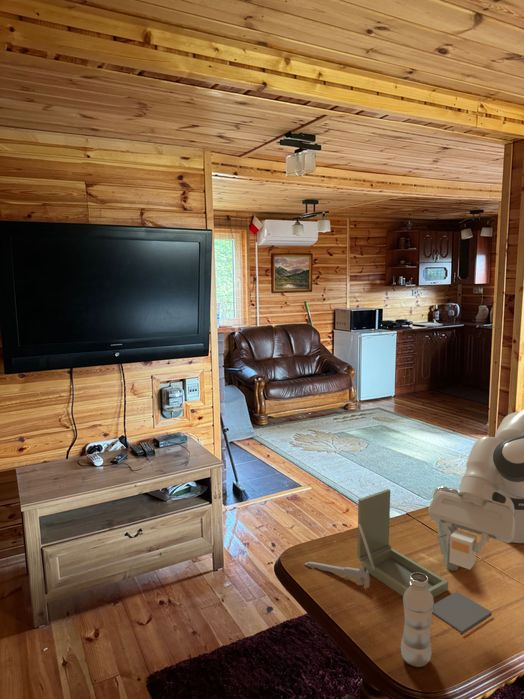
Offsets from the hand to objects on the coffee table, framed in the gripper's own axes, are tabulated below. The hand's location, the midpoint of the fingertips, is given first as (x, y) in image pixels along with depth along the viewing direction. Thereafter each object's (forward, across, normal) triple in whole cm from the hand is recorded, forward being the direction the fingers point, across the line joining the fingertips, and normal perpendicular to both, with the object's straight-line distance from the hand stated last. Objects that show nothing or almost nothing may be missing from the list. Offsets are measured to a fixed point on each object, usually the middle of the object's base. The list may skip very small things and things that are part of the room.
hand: (462, 546), depth 121 cm
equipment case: (+10, -18, +16) cm, 26 cm away
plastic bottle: (+28, -3, -1) cm, 28 cm away
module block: (+3, 0, +4) cm, 4 cm away
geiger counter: (-6, -14, +33) cm, 36 cm away
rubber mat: (+13, 0, +14) cm, 18 cm away
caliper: (+17, -33, +10) cm, 38 cm away
